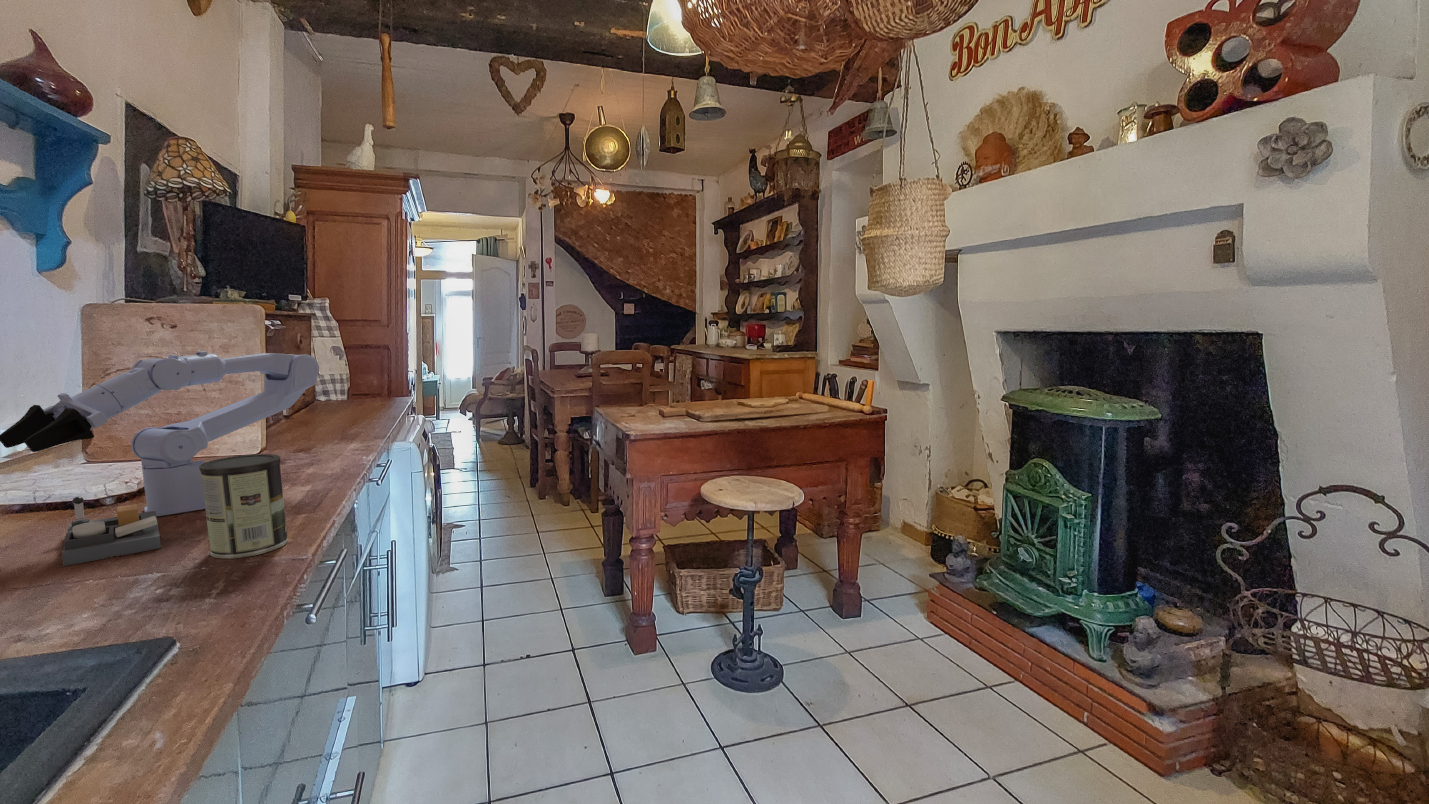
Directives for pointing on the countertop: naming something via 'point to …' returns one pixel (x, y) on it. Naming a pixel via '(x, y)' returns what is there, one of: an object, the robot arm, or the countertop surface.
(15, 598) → the countertop surface
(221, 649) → the countertop surface
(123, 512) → the slider
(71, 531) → the console
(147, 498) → the robot arm
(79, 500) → the lever
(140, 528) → the beige flat panel
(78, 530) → the button
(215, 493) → the coffee can
